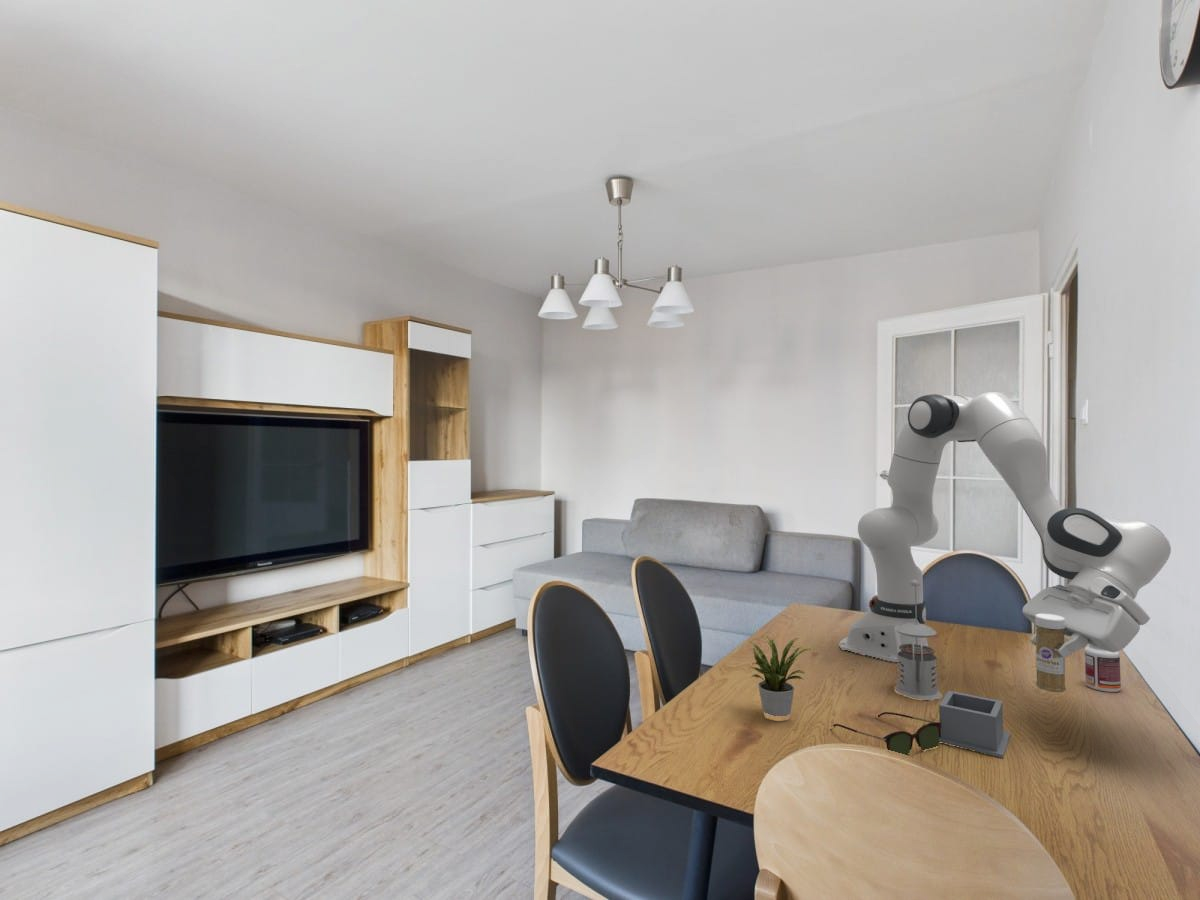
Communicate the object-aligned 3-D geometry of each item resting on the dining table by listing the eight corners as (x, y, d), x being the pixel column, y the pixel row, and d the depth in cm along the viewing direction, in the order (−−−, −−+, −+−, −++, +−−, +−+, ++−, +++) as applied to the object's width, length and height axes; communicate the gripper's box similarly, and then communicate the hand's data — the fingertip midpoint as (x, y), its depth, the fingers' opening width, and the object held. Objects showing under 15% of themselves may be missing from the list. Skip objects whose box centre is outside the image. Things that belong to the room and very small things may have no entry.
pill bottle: (1125, 689, 140) (1124, 639, 140) (1114, 695, 137) (1113, 644, 137) (1091, 680, 145) (1090, 633, 145) (1080, 686, 142) (1079, 637, 142)
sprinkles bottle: (1034, 689, 116) (1033, 616, 116) (1037, 682, 119) (1036, 611, 119) (1065, 695, 113) (1064, 620, 113) (1067, 688, 116) (1066, 615, 116)
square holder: (932, 741, 116) (931, 705, 116) (944, 721, 125) (943, 687, 125) (1002, 758, 109) (1002, 720, 109) (1010, 736, 118) (1009, 700, 118)
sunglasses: (886, 765, 108) (884, 735, 109) (824, 738, 122) (822, 711, 122) (944, 749, 114) (942, 720, 115) (879, 724, 128) (877, 699, 128)
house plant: (819, 707, 133) (818, 629, 133) (820, 734, 120) (818, 648, 120) (750, 699, 137) (749, 624, 138) (743, 725, 124) (742, 642, 125)
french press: (941, 688, 142) (938, 577, 143) (945, 706, 132) (942, 587, 132) (893, 682, 147) (891, 574, 147) (893, 699, 136) (891, 584, 136)
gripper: (1042, 572, 127) (996, 622, 126) (1134, 596, 106) (1079, 655, 106) (1064, 594, 127) (1018, 643, 127) (1159, 621, 107) (1105, 681, 106)
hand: (1047, 649), depth 116 cm, fingers closed on sprinkles bottle, 4 cm apart
